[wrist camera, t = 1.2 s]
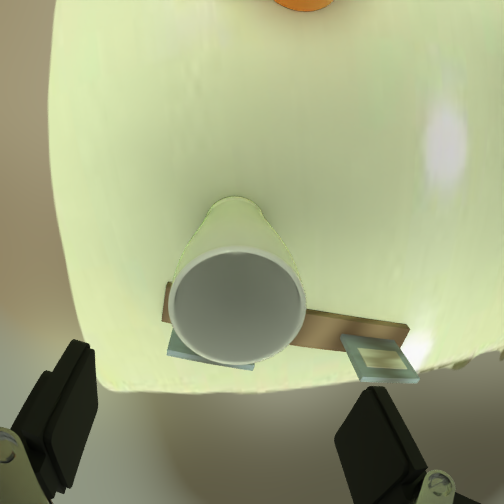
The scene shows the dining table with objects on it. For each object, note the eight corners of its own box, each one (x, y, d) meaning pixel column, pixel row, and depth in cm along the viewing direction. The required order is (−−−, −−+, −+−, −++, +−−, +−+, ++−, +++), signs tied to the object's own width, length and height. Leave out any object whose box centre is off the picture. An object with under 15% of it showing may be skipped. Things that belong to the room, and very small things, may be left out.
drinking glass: (269, 260, 31) (298, 367, 17) (196, 258, 30) (170, 364, 16) (275, 188, 28) (318, 248, 14) (197, 185, 28) (162, 241, 14)
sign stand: (406, 324, 34) (438, 365, 27) (392, 351, 36) (419, 394, 28) (168, 281, 31) (150, 328, 23) (163, 316, 32) (147, 366, 25)
